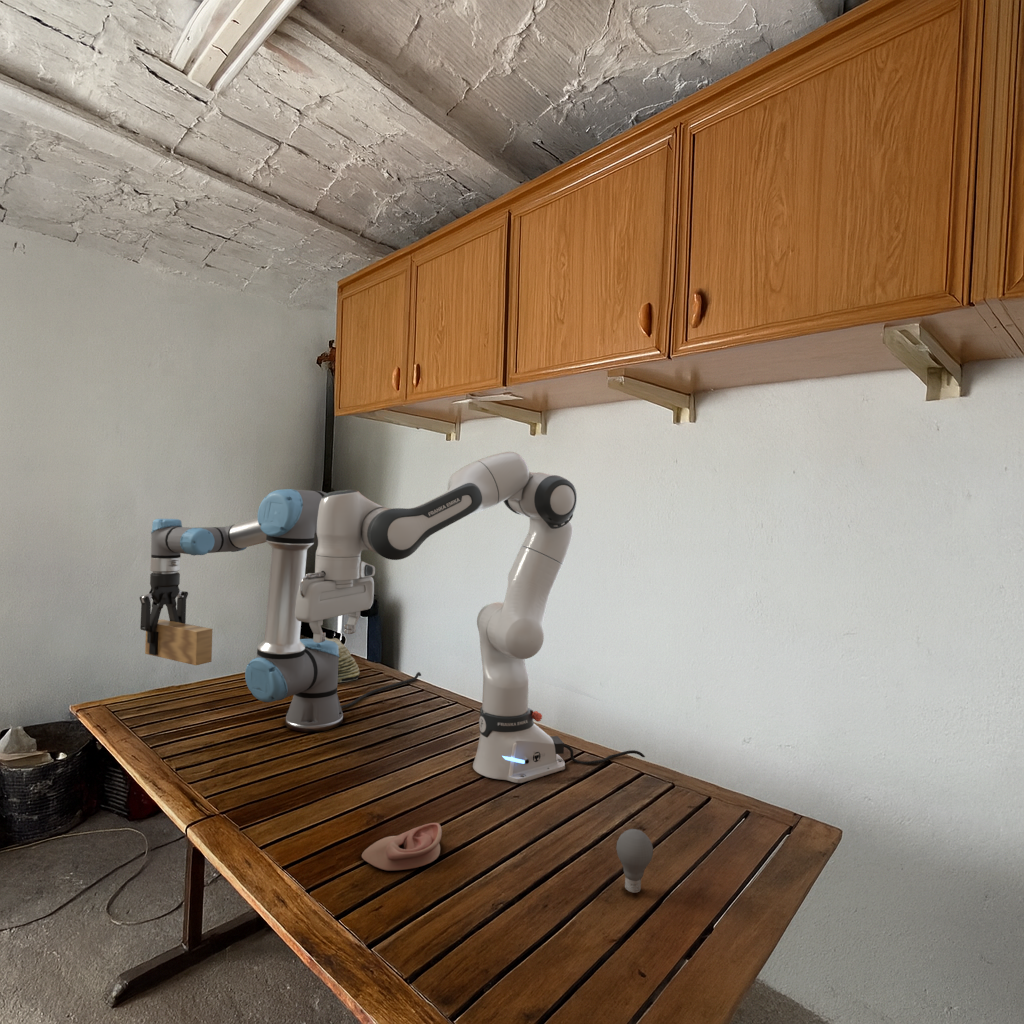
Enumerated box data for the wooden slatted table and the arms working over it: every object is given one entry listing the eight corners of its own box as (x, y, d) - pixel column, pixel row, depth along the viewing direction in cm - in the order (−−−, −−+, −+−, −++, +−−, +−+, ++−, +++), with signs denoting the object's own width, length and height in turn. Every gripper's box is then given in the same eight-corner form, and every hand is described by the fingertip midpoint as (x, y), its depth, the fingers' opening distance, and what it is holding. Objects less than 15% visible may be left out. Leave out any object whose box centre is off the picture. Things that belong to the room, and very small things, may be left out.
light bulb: (610, 879, 108) (613, 822, 108) (644, 879, 109) (647, 822, 109) (619, 902, 102) (622, 840, 102) (655, 901, 103) (658, 840, 103)
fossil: (300, 681, 213) (301, 637, 213) (350, 673, 226) (352, 631, 226) (311, 688, 207) (313, 642, 207) (362, 679, 219) (364, 636, 219)
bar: (145, 653, 183) (145, 621, 183) (160, 650, 187) (161, 619, 187) (196, 665, 173) (197, 631, 173) (211, 661, 177) (212, 628, 177)
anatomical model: (354, 842, 109) (381, 811, 120) (353, 865, 109) (380, 831, 121) (427, 854, 107) (448, 821, 118) (426, 877, 107) (447, 842, 118)
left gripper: (143, 576, 173) (140, 660, 174) (201, 570, 189) (198, 648, 190) (126, 573, 177) (123, 656, 177) (185, 568, 193) (182, 644, 193)
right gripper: (314, 575, 117) (311, 649, 118) (380, 566, 136) (377, 630, 136) (288, 572, 120) (285, 645, 120) (356, 564, 139) (353, 627, 139)
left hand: (162, 652), depth 183 cm, fingers closed on bar, 5 cm apart
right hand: (335, 637), depth 128 cm, fingers open, 8 cm apart
